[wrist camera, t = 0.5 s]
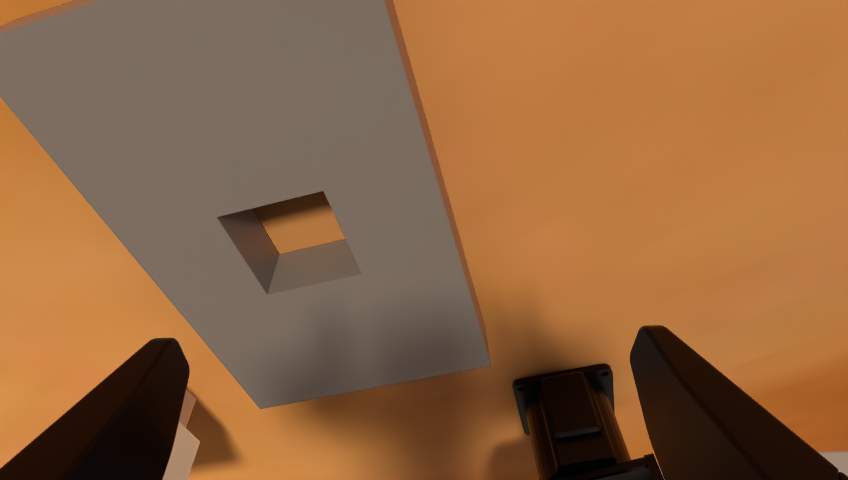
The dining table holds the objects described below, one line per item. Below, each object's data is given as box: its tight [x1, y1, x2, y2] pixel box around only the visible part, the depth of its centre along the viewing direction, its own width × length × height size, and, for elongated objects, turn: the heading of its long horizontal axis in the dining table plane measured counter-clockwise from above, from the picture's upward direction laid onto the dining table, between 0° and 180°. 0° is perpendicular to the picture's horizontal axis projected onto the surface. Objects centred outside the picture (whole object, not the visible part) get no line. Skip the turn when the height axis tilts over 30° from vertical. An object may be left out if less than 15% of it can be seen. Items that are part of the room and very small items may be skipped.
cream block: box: [163, 389, 200, 480], centre depth 31 cm, size 5×5×8 cm
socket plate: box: [0, 0, 491, 409], centre depth 24 cm, size 22×14×3 cm, turn 15°
